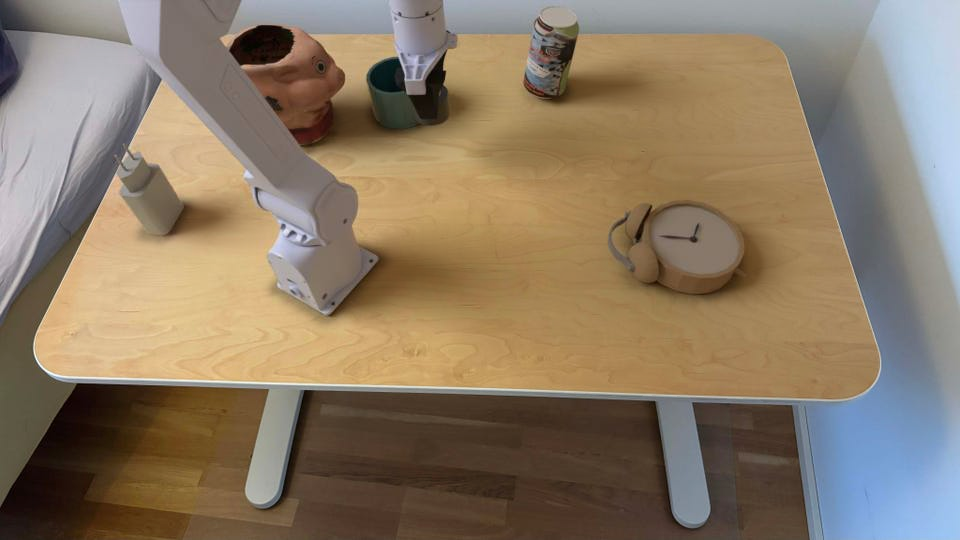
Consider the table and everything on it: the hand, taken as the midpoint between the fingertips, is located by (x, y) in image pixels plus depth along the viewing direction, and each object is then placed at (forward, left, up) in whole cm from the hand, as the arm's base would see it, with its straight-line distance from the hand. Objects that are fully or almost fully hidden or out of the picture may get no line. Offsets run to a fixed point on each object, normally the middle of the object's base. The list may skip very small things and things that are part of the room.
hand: (430, 103), depth 81 cm
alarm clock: (0, -33, -9) cm, 34 cm away
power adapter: (-27, +24, -9) cm, 37 cm away
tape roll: (0, 0, -2) cm, 2 cm away
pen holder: (+5, +10, -9) cm, 14 cm away
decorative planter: (-6, +22, -9) cm, 24 cm away
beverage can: (+19, -6, -9) cm, 22 cm away
